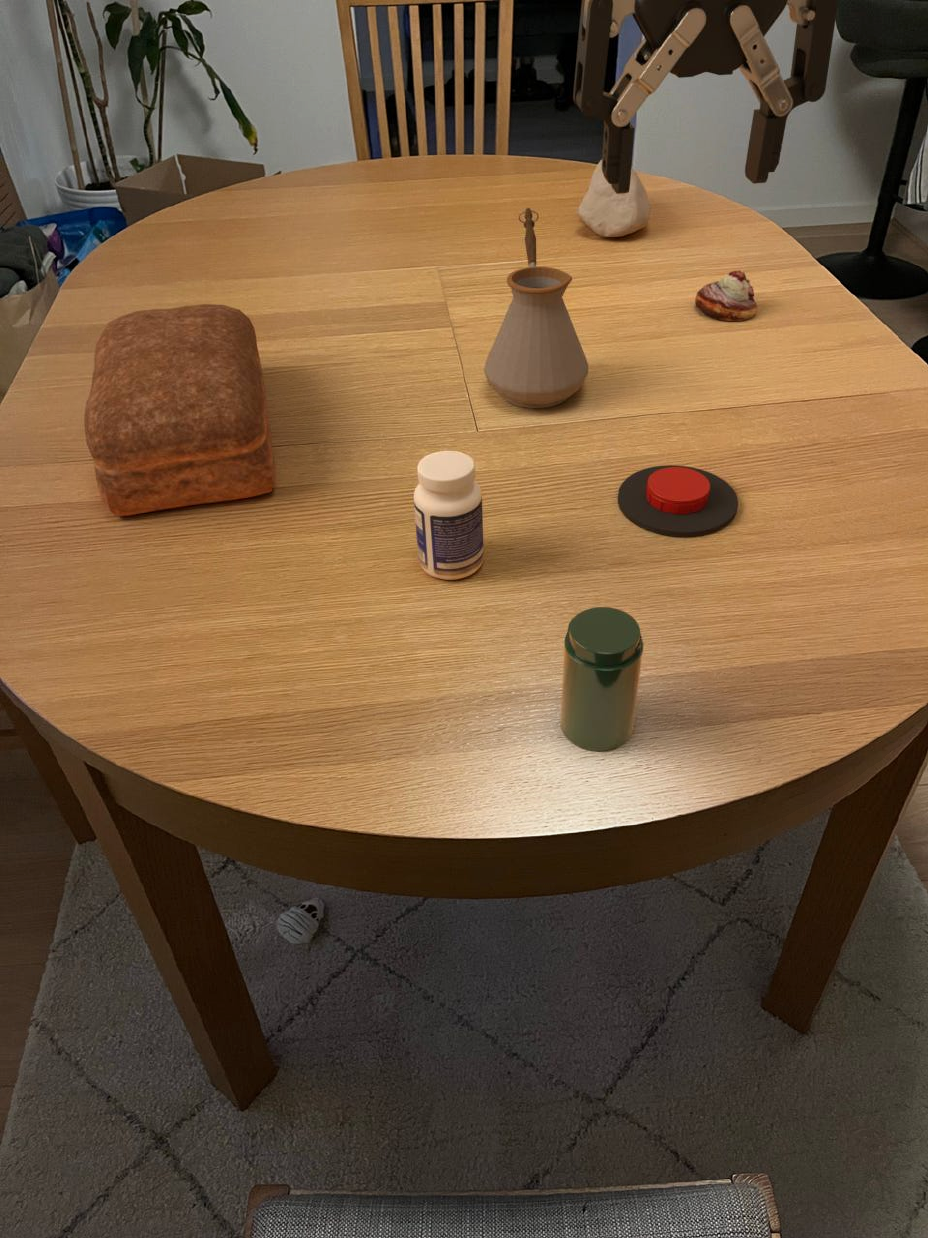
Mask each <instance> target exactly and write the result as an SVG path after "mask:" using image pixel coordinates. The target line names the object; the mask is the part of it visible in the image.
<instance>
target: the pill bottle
mask: <svg viewBox="0 0 928 1238" xmlns="http://www.w3.org/2000/svg"><path fill="white" fill-rule="evenodd" d="M416 470H417V482H418V484H417V485H416V486H415V489H414V491H413V511H414V520H415V532H416V542H417V543H416V544H417V554H418V555H417V556H418V563H419V565H420V567H421V570H423V571H424V572H425V573H426V574H428V575H429V576H431V577H433V578H436V579H440V580H447V581H448V580H449V581H453V580H459V579H464V578H467V577H469V576H471V575H473V574H474V573H476V572H477V571H478V570H479V569H480V568H481V566H482V564H483V562H484V555H485V554H484V553H485V552H484V551H485V550H484V521H483V518H484V517H483V515H484V514H483V494H482V490H481V487H480V485H479V483H478V482H477V481H476V480H475V479H476V463H475V461H474V459H473V457H471V456H470V455H469V454H467V453H464V452H461V451H457V450H440V451H434V452H432V453H430V454H429V453H428V454H427V455H425V456H423V457H422V458H421V459H420V460H419V462H418V463H417V469H416Z"/></svg>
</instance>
